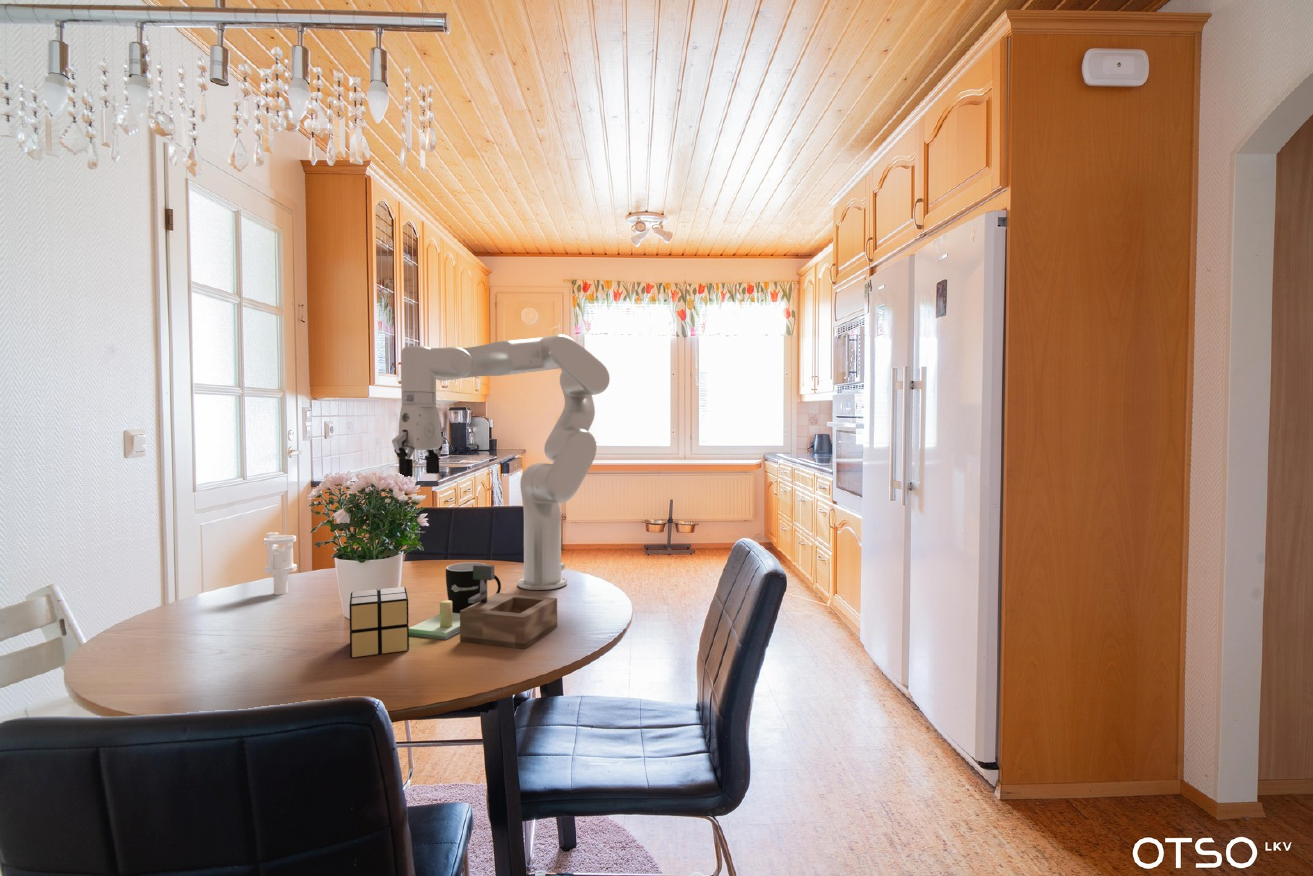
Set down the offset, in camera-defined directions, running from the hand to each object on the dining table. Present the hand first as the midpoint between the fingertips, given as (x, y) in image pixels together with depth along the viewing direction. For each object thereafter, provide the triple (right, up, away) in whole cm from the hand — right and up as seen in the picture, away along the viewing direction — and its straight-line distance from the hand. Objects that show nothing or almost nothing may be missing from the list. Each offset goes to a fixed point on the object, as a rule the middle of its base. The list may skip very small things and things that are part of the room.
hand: (419, 475), depth 155 cm
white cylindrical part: (-39, -30, +12) cm, 50 cm away
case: (+25, -31, -19) cm, 44 cm away
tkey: (+19, -25, -20) cm, 37 cm away
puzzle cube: (+2, -32, -27) cm, 41 cm away
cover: (+11, -30, -15) cm, 36 cm away
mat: (+11, -31, -15) cm, 36 cm away
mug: (+13, -31, -3) cm, 34 cm away
